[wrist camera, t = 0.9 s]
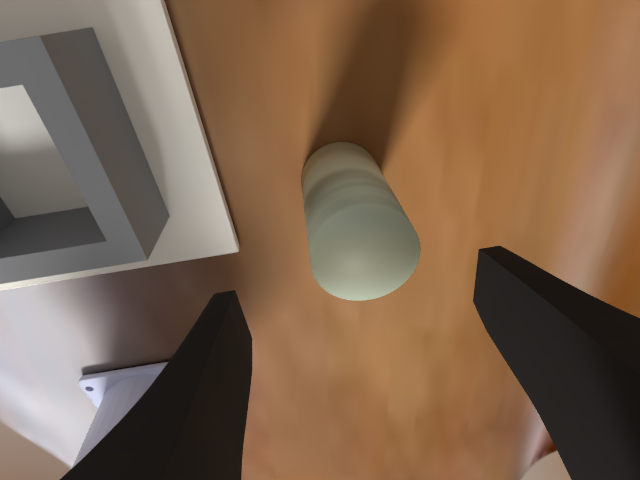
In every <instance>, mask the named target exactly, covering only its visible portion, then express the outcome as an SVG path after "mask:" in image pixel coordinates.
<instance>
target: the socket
mask: <svg viewBox="0 0 640 480" xmlns="http://www.w3.org/2000/svg"><path fill="white" fill-rule="evenodd" d="M236 252H239V242H238V239H237V236H236V233H235V229H234V226H233V223H232V220H231V216H230V213H229V210H228V206H227V203H226V200H225V197H224V193H223V190H222V187H221V184H220V180H219V177H218V174H217V170H216V167H215V164H214V161H213V157H212V154H211V151H210V148H209V144H208V141H207V138H206V135H205V131H204V128H203V125H202V121H201V118H200V115H199V112H198V108H197V105H196V102H195V99H194V95H193V92H192V89H191V86H190V82H189V79H188V76H187V72H186V69H185V66H184V63H183V59H182V56H181V53H180V50H179V46H178V43H177V40H176V37H175V33H174V30H173V27H172V23H171V20H170V17H169V14H168V10H167V7H166V4H165V1H164V0H0V291H1V290H7V289H13V288H19V287H25V286H32V285H38V284H44V283H50V282H56V281H62V280H69V279H75V278H81V277H87V276H93V275H100V274H106V273H112V272H118V271H124V270H131V269H137V268H143V267H149V266H155V265H161V264H168V263H174V262H180V261H186V260H192V259H199V258H205V257H211V256H217V255H223V254H230V253H236Z"/></svg>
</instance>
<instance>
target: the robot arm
mask: <svg viewBox="0 0 640 480" xmlns="http://www.w3.org/2000/svg"><path fill="white" fill-rule="evenodd" d="M473 302H474V304H475V306H476V309H477V311H478V313H479V315H480V318H481V320H482V322H483V324H484V326H485V328H486V330H487V332H488V334H489V335H490V337H491V338H492V340H493V342H494V343H495V345H496V346H497V348H498V350H499V351H500V353H501V354H502V356H503V357H504V359H505V361H506V362H507V364H508V365H509V367H510V368H511V370H512V371H513V373H514V375H515V376H516V378H517V379H518V381H519V382H520V384H521V386H522V387H523V389H524V390H525V392H526V393H527V395H528V396H529V398H530V400H531V401H532V403H533V405H534V407H535V408H536V410H537V412H538V413H539V415H540V417H541V419H542V421H543V423H544V425H545V427H546V429H547V431H548V433H549V435H550V437H551V439H552V441H553V443H554V445H555V446H556V448H557V450H558V453H559V455H560V457H561V459H562V461H563V463H564V465H565V467H566V469H567V471H568V473H569V475H570V477H571V479H572V480H640V318H638V317H636V316H633V315H631V314H629V313H626V312H624V311H622V310H620V309H618V308H615V307H613V306H611V305H609V304H607V303H605V302H603V301H601V300H599V299H597V298H595V297H593V296H591V295H589V294H587V293H585V292H583V291H581V290H579V289H577V288H575V287H574V286H572V285H570V284H568V283H566V282H564V281H562V280H561V279H559V278H557V277H555V276H553V275H552V274H550V273H548V272H546V271H544V270H543V269H541V268H539V267H537V266H536V265H534V264H532V263H530V262H529V261H527V260H525V259H523V258H522V257H520V256H518V255H516V254H514V253H513V252H511V251H509V250H507V249H505V248H503V247H501V246H495V247H489V248H483V249H479V253H478V262H477V271H476V280H475V289H474V298H473ZM251 376H252V337H251V334H250V331H249V328H248V326H247V323H246V320H245V317H244V314H243V311H242V309H241V306H240V303H239V300H238V297H237V294H236V292H235V290H234V291H228V292H222V293H216V294H214V295H213V297H212V298H211V300H210V301H209V303H208V304H207V306H206V307H205V309H204V310H203V312H202V313H201V315H200V317H199V318H198V320H197V321H196V323H195V324H194V326H193V327H192V329H191V330H190V332H189V333H188V335H187V336H186V338H185V339H184V341H183V342H182V344H181V345H180V347H179V348H178V349H177V351H176V352H175V354H174V355H173V357H172V358H171V359H170V361H169V362H164V363H158V364H151V365H145V366H139V367H133V368H127V369H121V370H114V371H108V372H102V373H96V374H90V375H84V376H82V377H81V378H80V380H79V382H78V384H79V386H80V387H81V388H82V389H83V391H84V392H85V393H86V395H87V396H88V397H89V398H90V400H91V401H92V402H93V403H94V405H95V406H96V407H97V408H98V410H97V413H96V415H95V417H94V419H93V422H92V424H91V426H90V428H89V431H88V433H87V435H86V438H85V440H84V442H83V444H82V447H81V449H80V451H79V453H78V456H77V458H76V460H75V463H74V465H73V467H72V469H71V470H70V471H69V472H68V473H67V474H66V475H64V476H63V477H62V478H61V479H60V480H241V469H242V453H243V443H244V434H245V426H246V418H247V410H248V402H249V393H250V385H251Z"/></svg>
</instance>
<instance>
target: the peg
mask: <svg viewBox="0 0 640 480" xmlns="http://www.w3.org/2000/svg"><path fill="white" fill-rule="evenodd" d="M301 184H302V193H303V202H304V210H305V219H306V228H307V237H308V245H309V254H310V263H311V269H312V273H313V275H314V277H315V279H316V281H317V282H318V284H319V285H320V286H321V287H322V288H323V289H325V290H326V291H327V292H329V293H330V294H332V295H334V296H336V297H339V298H342V299H347V300H356V301H357V300H370V299H375V298H378V297H381V296H384V295H386V294H389V293H390V292H392V291H394V290H396V289H397V288H399V287H400V286H401V285H402V284H404V283H405V282H406V281H407V280H408V279H409V277H410V276H411V275H412V273H413V272H414V270H415V268H416V266H417V264H418V261H419V257H420V242H419V238H418V235H417V233H416V231H415V229H414V228H413V226H412V224H411V223H410V221H409V219H408V217H407V216H406V214H405V212H404V210H403V209H402V207H401V205H400V203H399V202H398V200H397V198H396V196H395V195H394V193H393V191H392V189H391V188H390V186H389V184H388V183H387V181H386V179H385V177H384V176H383V174H382V172H381V170H380V169H379V167H378V165H377V163H376V162H375V160H374V158H373V157H372V155H371V154H370V153H369V152H368V151H367V150H366V149H364V148H363V147H361V146H359V145H357V144H354V143H351V142H334V143H330V144H327V145H325V146H323V147H321V148H319V149H318V150H316V151H315V152H314V153H313V154H312V155H311V156H310V157H309V158H308V160H307V162H306V163H305V165H304V168H303V171H302V176H301Z"/></svg>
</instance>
